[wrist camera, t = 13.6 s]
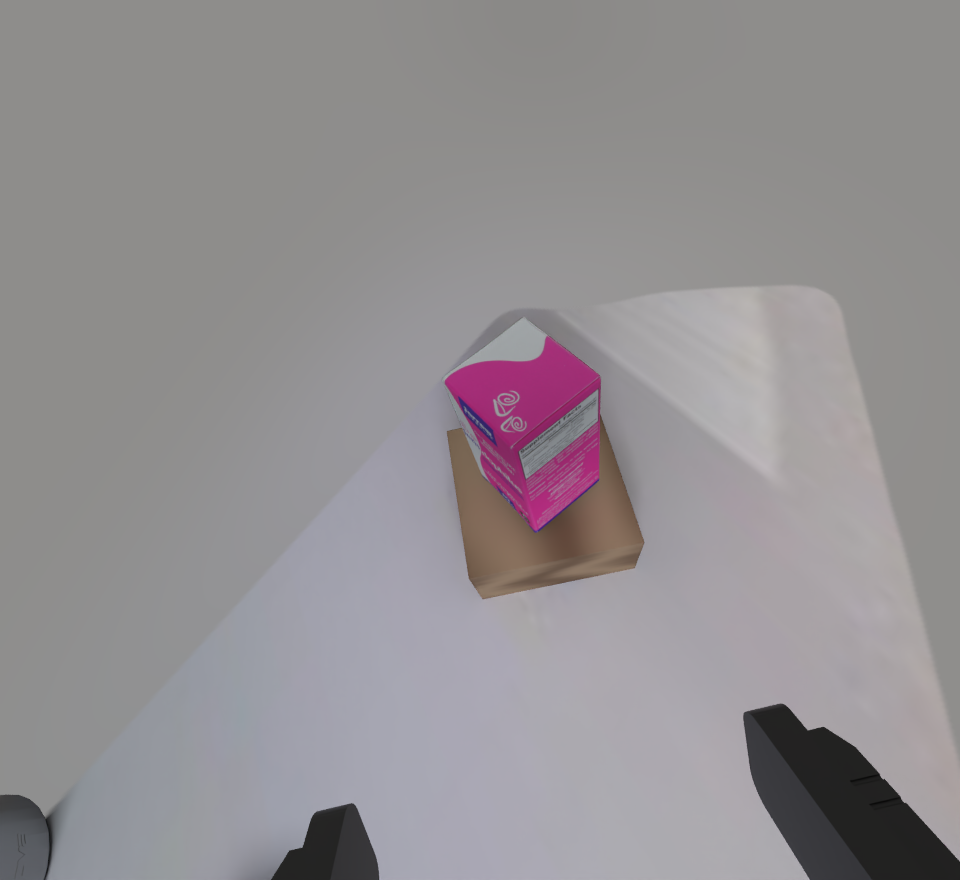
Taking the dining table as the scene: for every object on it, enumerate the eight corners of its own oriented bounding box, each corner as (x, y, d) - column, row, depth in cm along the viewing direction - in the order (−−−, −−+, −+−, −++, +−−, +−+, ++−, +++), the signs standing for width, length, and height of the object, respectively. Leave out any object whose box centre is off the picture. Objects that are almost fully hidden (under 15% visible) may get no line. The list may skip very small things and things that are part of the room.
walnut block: (483, 600, 37) (469, 578, 32) (462, 467, 42) (446, 431, 37) (634, 569, 36) (644, 542, 31) (592, 439, 42) (594, 398, 37)
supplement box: (479, 478, 35) (437, 374, 25) (544, 427, 36) (527, 309, 27) (534, 538, 32) (510, 446, 22) (603, 481, 33) (608, 370, 24)
